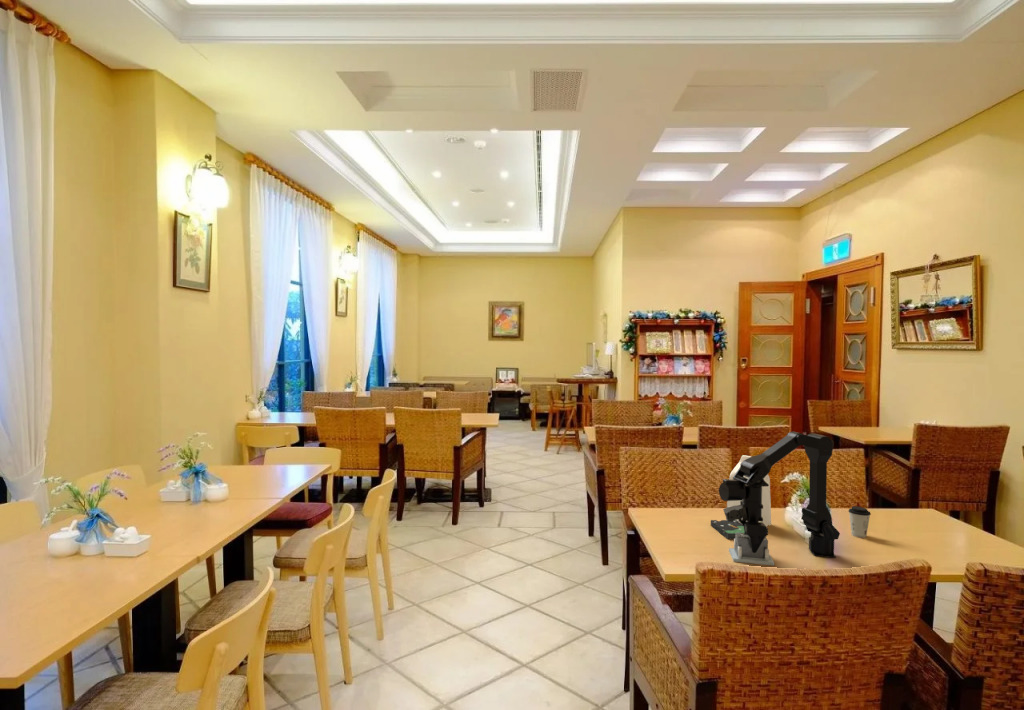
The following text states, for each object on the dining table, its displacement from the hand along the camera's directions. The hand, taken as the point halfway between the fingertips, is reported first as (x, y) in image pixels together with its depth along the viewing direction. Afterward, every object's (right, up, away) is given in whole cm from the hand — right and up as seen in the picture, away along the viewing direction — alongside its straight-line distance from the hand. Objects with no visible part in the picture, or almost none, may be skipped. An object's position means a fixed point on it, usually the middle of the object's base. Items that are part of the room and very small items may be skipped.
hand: (751, 547), depth 174 cm
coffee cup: (+50, -4, +23) cm, 55 cm away
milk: (+15, -3, +35) cm, 38 cm away
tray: (0, -4, 0) cm, 4 cm away
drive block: (0, -3, 0) cm, 2 cm away
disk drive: (+4, -4, +24) cm, 25 cm away
